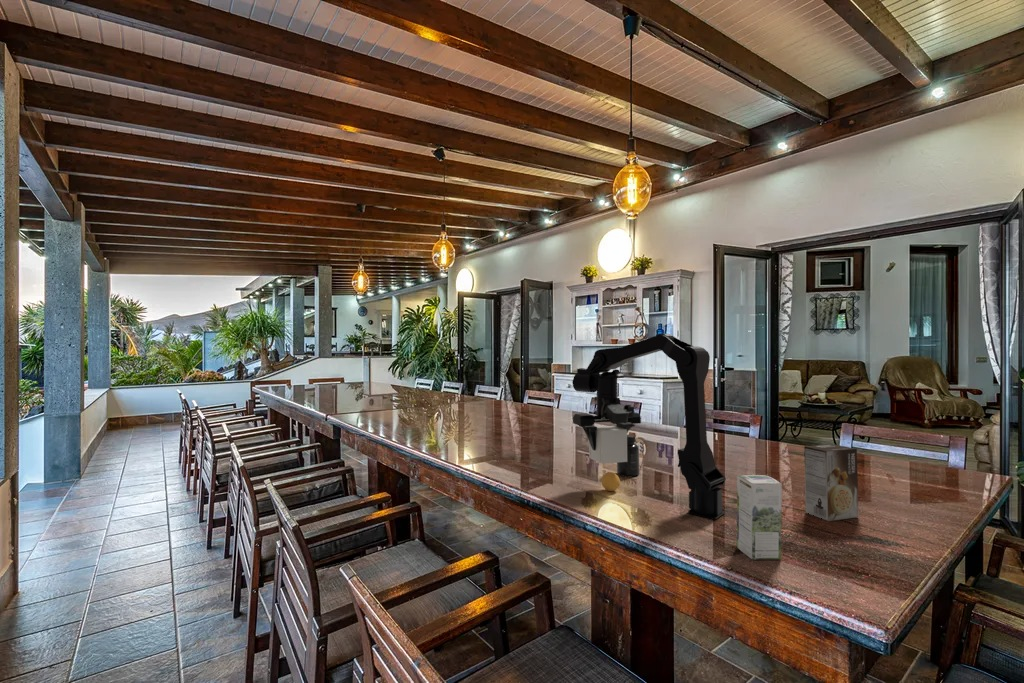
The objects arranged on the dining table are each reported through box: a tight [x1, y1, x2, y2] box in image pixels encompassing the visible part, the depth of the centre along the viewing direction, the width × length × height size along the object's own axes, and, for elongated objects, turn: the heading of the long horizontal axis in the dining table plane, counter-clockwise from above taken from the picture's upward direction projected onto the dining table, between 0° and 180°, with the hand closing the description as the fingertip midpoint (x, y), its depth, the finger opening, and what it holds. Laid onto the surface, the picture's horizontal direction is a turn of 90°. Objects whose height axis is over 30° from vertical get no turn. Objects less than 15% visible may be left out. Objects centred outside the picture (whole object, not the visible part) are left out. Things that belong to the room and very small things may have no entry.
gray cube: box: [588, 425, 628, 465], centre depth 135 cm, size 8×8×9 cm
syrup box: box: [736, 474, 783, 561], centre depth 92 cm, size 6×6×14 cm
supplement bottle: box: [616, 434, 640, 477], centre depth 151 cm, size 7×7×12 cm
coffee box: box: [803, 443, 859, 522], centre depth 114 cm, size 9×6×16 cm
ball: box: [601, 471, 621, 492], centre depth 133 cm, size 5×5×5 cm
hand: (607, 449), depth 135 cm, fingers closed on gray cube, 8 cm apart
